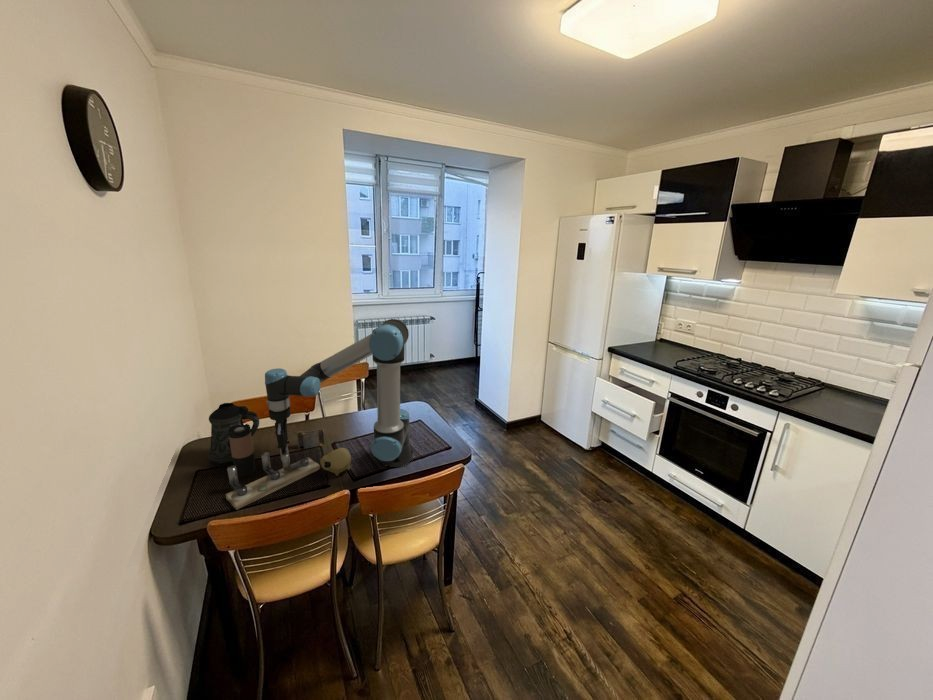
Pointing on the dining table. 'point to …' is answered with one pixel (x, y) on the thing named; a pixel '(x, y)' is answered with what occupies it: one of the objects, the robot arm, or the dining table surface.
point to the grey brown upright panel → (311, 438)
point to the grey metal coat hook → (236, 481)
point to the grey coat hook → (287, 464)
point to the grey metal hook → (269, 466)
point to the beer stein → (220, 424)
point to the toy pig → (336, 461)
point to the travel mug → (242, 449)
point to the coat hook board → (270, 484)
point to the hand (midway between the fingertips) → (285, 459)
